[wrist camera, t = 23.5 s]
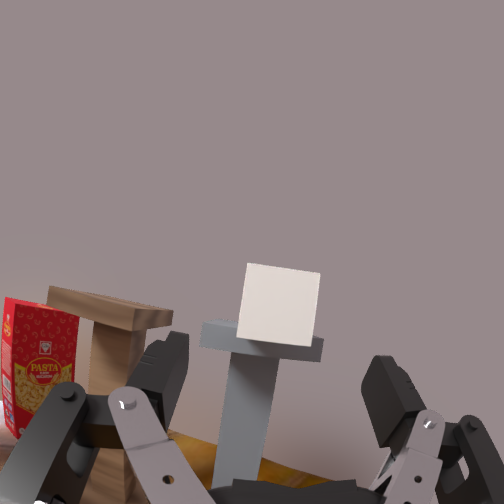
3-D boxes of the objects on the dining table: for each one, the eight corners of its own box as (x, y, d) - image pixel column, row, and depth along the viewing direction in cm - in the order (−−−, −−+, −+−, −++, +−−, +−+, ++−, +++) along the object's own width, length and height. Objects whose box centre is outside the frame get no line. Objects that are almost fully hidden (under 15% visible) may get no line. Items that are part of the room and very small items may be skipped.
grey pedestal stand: (265, 566, 16) (323, 339, 22) (178, 556, 16) (202, 322, 23) (259, 508, 30) (294, 329, 36) (194, 499, 30) (218, 318, 36)
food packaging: (17, 439, 27) (15, 303, 32) (5, 424, 29) (5, 296, 34) (74, 429, 40) (80, 313, 46) (60, 418, 42) (65, 308, 47)
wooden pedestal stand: (128, 542, 16) (134, 308, 23) (58, 510, 16) (49, 285, 23) (156, 490, 30) (173, 310, 36) (98, 471, 30) (108, 296, 36)
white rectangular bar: (312, 346, 15) (322, 273, 15) (234, 336, 15) (245, 262, 15) (274, 327, 34) (279, 295, 35) (240, 322, 34) (245, 290, 35)
